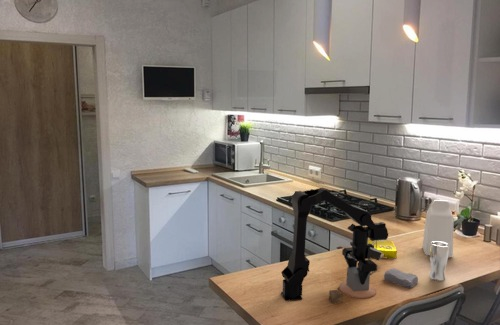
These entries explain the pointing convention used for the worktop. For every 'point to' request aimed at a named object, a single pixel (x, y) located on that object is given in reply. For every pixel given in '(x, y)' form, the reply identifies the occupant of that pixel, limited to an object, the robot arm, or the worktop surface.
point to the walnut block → (335, 296)
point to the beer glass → (438, 260)
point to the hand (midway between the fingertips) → (357, 279)
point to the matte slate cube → (356, 280)
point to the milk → (438, 226)
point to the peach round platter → (357, 294)
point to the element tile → (385, 248)
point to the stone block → (400, 278)
